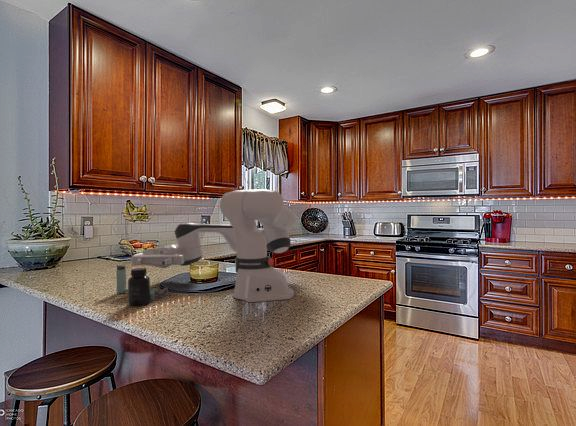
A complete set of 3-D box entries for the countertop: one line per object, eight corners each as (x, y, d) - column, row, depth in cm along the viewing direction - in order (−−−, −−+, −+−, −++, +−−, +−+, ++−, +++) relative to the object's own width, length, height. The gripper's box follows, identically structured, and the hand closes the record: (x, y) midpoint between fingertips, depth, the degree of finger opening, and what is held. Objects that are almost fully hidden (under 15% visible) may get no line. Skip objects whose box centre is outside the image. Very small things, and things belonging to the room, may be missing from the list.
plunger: (166, 290, 127) (165, 264, 127) (153, 299, 114) (152, 271, 114) (119, 291, 126) (119, 265, 126) (102, 300, 114) (101, 272, 113)
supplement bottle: (154, 302, 112) (153, 268, 112) (136, 308, 106) (135, 271, 106) (142, 299, 115) (141, 266, 115) (124, 305, 110) (123, 269, 109)
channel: (168, 292, 124) (168, 287, 124) (160, 298, 116) (160, 293, 116) (140, 293, 124) (140, 288, 124) (131, 299, 116) (131, 293, 116)
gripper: (189, 264, 137) (179, 270, 123) (140, 264, 136) (124, 271, 122) (189, 249, 137) (178, 254, 123) (140, 249, 136) (124, 254, 122)
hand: (151, 262), depth 123 cm, fingers open, 8 cm apart
